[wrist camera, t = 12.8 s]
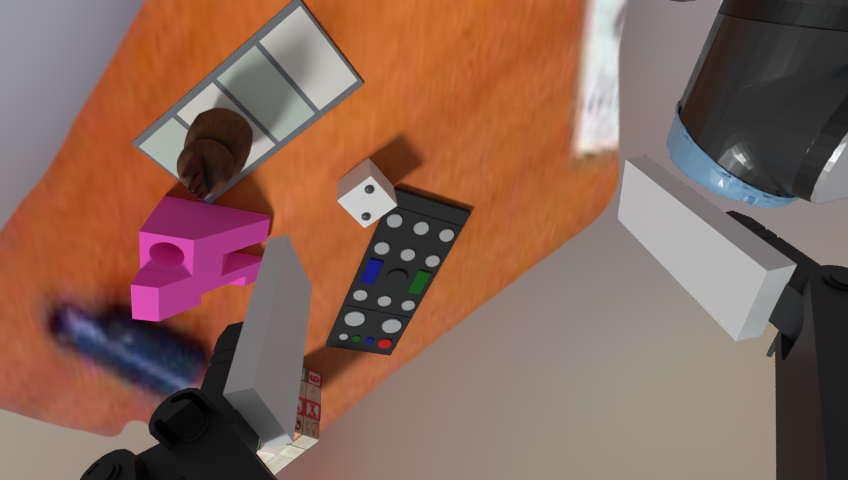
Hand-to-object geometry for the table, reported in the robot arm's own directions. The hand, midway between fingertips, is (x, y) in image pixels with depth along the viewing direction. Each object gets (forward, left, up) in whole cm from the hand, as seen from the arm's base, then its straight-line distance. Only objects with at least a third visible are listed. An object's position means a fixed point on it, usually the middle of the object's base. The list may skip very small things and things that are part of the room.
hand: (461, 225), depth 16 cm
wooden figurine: (+19, +5, -34) cm, 39 cm away
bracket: (+26, +18, -34) cm, 47 cm away
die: (+6, +15, -34) cm, 38 cm away
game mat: (+16, +3, -34) cm, 38 cm away
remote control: (+6, +32, -35) cm, 48 cm away
